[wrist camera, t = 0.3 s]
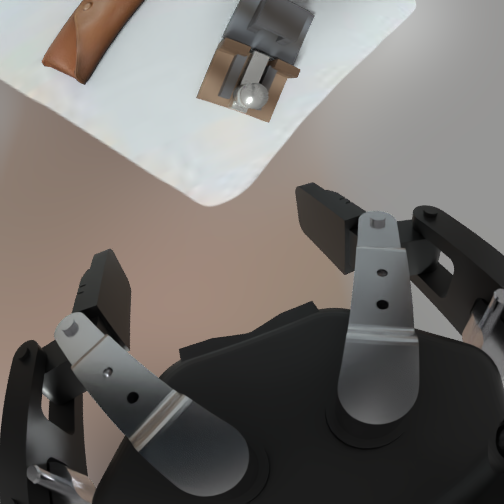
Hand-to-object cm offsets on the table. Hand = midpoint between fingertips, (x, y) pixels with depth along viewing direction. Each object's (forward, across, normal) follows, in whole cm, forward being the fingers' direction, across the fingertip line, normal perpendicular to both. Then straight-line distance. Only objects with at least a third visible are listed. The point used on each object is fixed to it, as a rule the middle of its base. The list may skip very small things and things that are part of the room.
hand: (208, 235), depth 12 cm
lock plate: (+27, -13, -10) cm, 32 cm away
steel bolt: (+26, -10, -5) cm, 28 cm away
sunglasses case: (+28, +5, -20) cm, 35 cm away
